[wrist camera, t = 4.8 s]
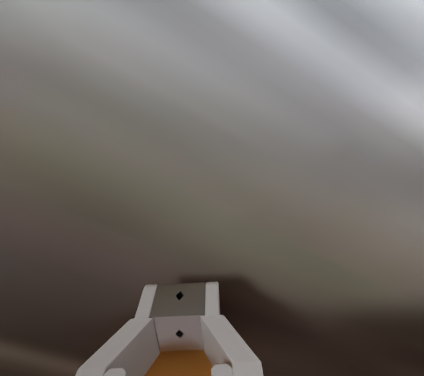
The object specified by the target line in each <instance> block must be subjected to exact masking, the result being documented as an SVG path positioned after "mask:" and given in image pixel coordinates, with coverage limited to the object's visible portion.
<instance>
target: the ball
mask: <svg viewBox="0 0 424 376" xmlns="http://www.w3.org/2000/svg"><path fill="white" fill-rule="evenodd" d="M212 367H213V366H212V365H211V363H210V361H209V359H208V357H207V355H206V354H205V352H204V350H179V351H164V352H160V354H159V355H158V357H157V358H156V360H155V361H154V363H153V364H152V365H151V367H150V368H149V370H148V371H147V373H146V374H145V375H144V376H211V369H212Z"/></svg>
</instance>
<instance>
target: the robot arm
mask: <svg viewBox="0 0 424 376" xmlns="http://www.w3.org/2000/svg"><path fill="white" fill-rule="evenodd" d="M179 350H204V352H205V354H206V355H207V357H208V359H209V361H210V363H211V365H212V366H213V367H212V369H211V376H263V370H262V364H261V361H260V360H259V359H258V358H257V356H256V355H255V354H254V353H253V351H252V350H251V349H250V348H249V346H248V345H247V344H246V343H245V341H244V340H243V339H242V338H241V336H240V335H239V334H238V333H237V331H236V330H235V329H234V328H233V326H232V325H231V324H230V323H229V321H228V320H227V319H226V318H225V316H224V315H220V300H219V283H218V282H202V283H183V284H156V285H145V287H144V289H143V292H142V295H141V298H140V302H139V305H138V308H137V311H136V315H135V318H134V319H130V320H129V321H128V322H127V323H126V324H125V325H124V326H122V327H121V328H120V329H119V330H118V331H117V332H116V333H115V334H114V335H113V336H112V337H111V338H110V339H109V340H108V341H107V342H106V343H105V344H104V345H103V346H101V347H100V348H99V349H98V350H97V351H96V352H95V353H94V354H93V355H92V356H91V357H90V358H89V359H88V360H87V361H86V362H85V363H84V364H83V365H82V366H80V367H79V368H78V371H77V373H76V375H75V376H144V375H145V374H146V373H147V371H148V370H149V368H150V367H151V365H152V364H153V363H154V361H155V360H156V358H157V357H158V355H159V354H160V352H164V351H179Z"/></svg>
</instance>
